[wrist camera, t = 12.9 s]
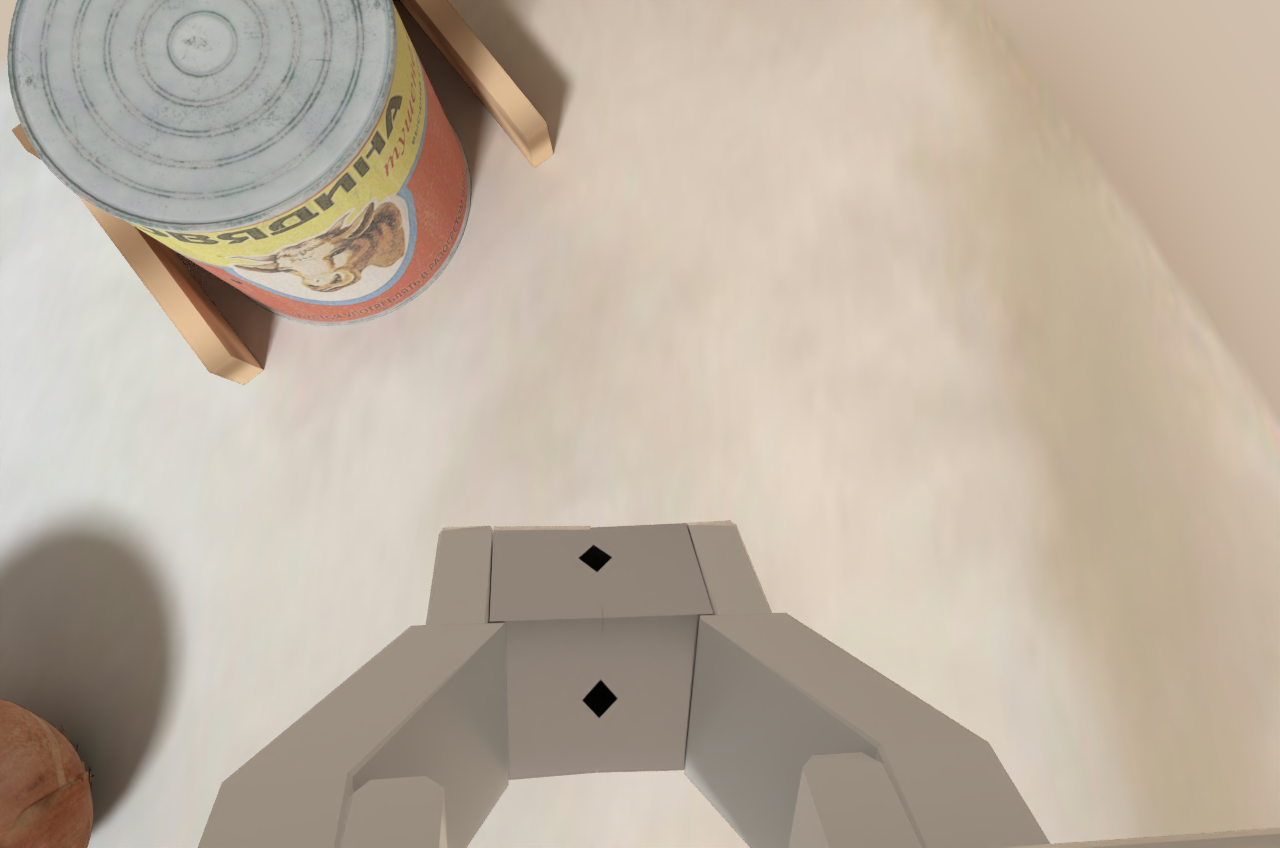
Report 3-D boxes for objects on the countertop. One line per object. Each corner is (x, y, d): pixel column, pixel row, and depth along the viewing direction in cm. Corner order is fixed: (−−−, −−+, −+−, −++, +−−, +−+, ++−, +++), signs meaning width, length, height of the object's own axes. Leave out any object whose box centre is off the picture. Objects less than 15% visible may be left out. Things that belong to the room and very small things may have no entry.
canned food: (268, 371, 38) (96, 296, 26) (160, 137, 39) (-52, -39, 27) (515, 252, 38) (459, 125, 26) (402, 25, 39) (299, -195, 27)
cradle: (553, 153, 39) (540, 97, 34) (243, 384, 37) (183, 362, 32) (398, -38, 40) (364, -119, 35) (92, 182, 38) (11, 130, 34)
